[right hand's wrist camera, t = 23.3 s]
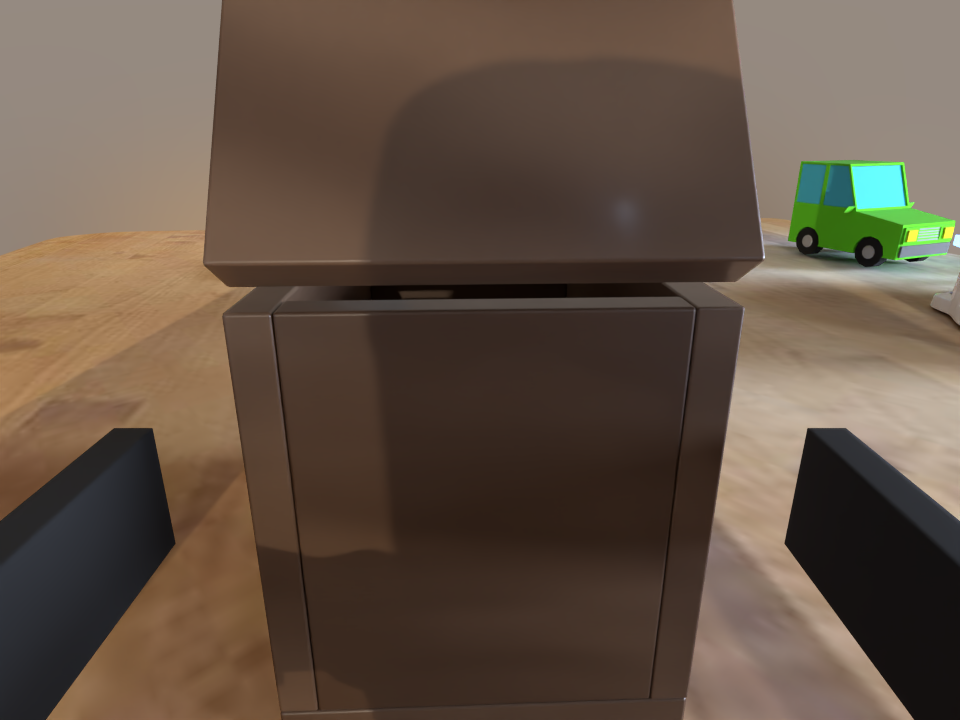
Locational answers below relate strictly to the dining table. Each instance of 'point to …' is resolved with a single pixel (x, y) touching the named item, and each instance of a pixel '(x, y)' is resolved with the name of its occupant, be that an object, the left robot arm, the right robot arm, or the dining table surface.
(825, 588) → the right robot arm
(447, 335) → the chest
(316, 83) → the lid
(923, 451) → the dining table surface
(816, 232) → the toy car
